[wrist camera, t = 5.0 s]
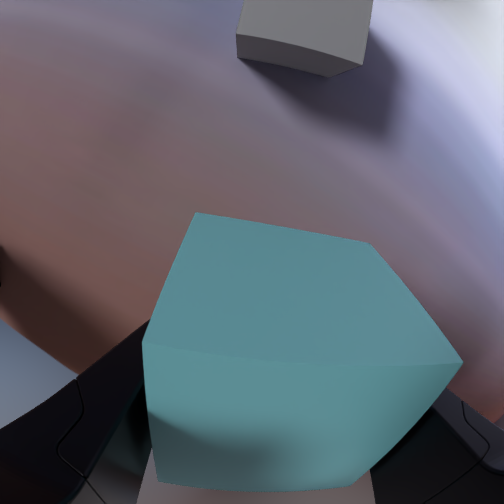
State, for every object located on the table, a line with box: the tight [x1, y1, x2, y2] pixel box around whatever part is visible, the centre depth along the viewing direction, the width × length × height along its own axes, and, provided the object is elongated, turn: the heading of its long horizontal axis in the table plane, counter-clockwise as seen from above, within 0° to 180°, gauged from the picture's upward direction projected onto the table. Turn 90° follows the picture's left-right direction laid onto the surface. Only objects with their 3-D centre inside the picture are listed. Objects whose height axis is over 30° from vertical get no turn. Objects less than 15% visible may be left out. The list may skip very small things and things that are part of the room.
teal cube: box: [142, 212, 464, 492], centre depth 7 cm, size 5×5×5 cm
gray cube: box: [236, 0, 373, 78], centre depth 11 cm, size 5×5×5 cm
